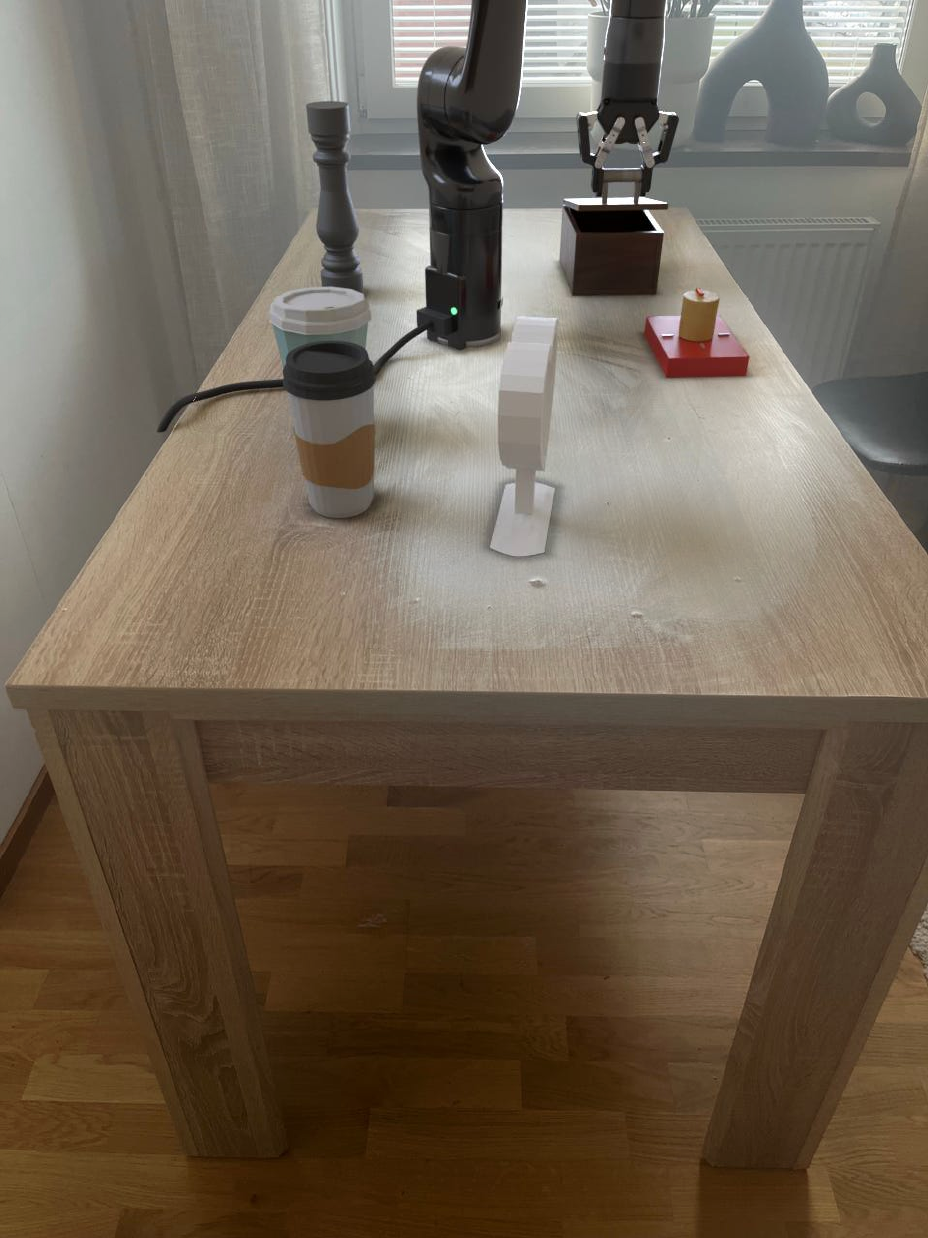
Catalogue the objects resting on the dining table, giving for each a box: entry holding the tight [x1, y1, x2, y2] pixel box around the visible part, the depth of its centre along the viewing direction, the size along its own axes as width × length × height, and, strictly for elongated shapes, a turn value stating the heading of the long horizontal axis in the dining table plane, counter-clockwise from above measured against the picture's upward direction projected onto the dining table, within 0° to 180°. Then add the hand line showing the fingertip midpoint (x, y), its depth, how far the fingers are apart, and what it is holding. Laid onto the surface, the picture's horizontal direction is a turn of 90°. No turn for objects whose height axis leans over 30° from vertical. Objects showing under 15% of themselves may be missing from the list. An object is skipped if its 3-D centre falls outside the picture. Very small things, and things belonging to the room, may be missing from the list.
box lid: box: [562, 167, 669, 211], centre depth 135 cm, size 16×13×5 cm
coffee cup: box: [282, 341, 377, 519], centre depth 86 cm, size 8×8×15 cm
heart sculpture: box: [489, 315, 559, 558], centre depth 83 cm, size 16×5×18 cm, turn 171°
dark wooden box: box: [558, 204, 665, 297], centre depth 140 cm, size 16×13×9 cm
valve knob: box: [678, 287, 721, 342], centre depth 116 cm, size 4×4×5 cm
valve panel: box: [643, 314, 751, 378], centre depth 118 cm, size 14×10×3 cm
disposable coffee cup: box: [268, 286, 372, 369], centre depth 99 cm, size 11×11×15 cm
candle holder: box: [305, 100, 365, 295], centre depth 130 cm, size 6×6×25 cm
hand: (620, 194), depth 131 cm, fingers closed on box lid, 5 cm apart
